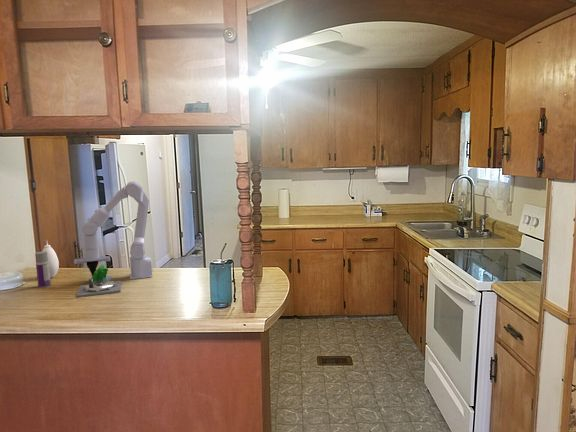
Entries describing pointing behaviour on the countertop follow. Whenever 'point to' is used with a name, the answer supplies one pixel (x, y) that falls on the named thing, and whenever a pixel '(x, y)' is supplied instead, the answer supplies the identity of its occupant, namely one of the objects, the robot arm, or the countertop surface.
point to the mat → (105, 279)
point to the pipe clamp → (100, 273)
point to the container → (42, 269)
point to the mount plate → (114, 289)
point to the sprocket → (99, 285)
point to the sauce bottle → (52, 260)
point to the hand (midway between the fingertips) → (93, 277)
